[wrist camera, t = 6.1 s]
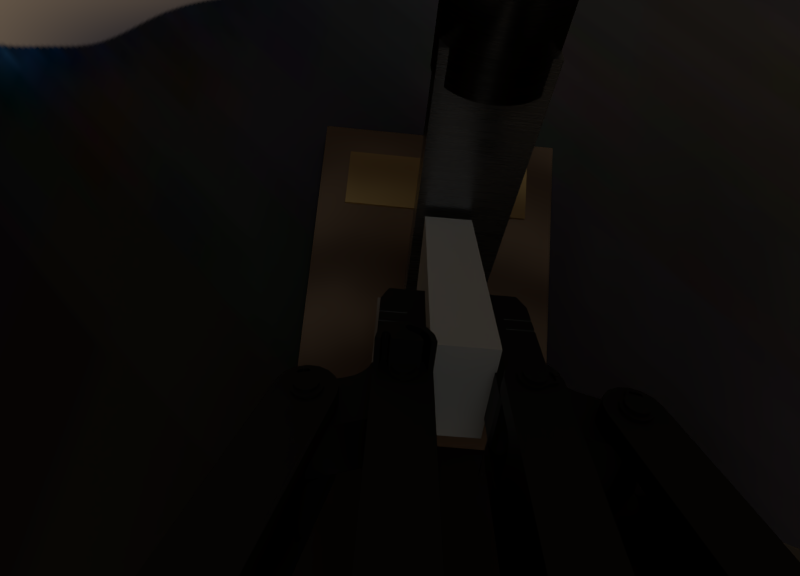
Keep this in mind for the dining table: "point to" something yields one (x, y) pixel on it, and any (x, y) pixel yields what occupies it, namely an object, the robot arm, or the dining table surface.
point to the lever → (485, 113)
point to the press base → (402, 248)
